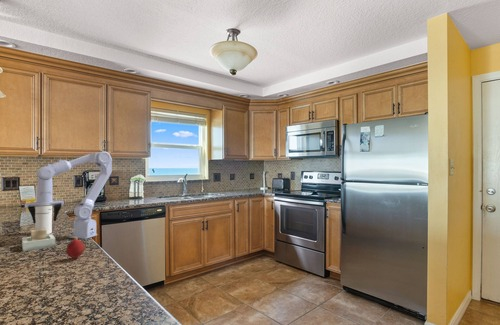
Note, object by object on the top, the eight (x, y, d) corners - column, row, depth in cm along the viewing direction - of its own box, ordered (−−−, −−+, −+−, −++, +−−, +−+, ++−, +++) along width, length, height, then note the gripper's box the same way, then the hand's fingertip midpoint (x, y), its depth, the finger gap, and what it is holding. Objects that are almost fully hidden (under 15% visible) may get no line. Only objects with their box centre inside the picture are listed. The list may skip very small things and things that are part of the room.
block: (45, 241, 126) (45, 228, 126) (46, 243, 122) (46, 230, 122) (31, 243, 123) (31, 229, 123) (31, 245, 119) (32, 231, 119)
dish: (52, 241, 130) (52, 234, 130) (55, 246, 122) (55, 238, 122) (21, 245, 123) (22, 237, 123) (22, 251, 114) (23, 242, 114)
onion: (75, 262, 101) (75, 239, 101) (62, 261, 102) (62, 239, 103) (87, 257, 107) (88, 236, 107) (75, 256, 108) (75, 235, 108)
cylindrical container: (55, 231, 150) (55, 185, 150) (44, 235, 143) (44, 186, 143) (42, 231, 151) (43, 185, 151) (31, 234, 143) (32, 186, 144)
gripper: (62, 191, 137) (61, 218, 137) (24, 192, 128) (24, 222, 127) (64, 191, 132) (64, 220, 132) (25, 194, 122) (25, 225, 122)
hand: (44, 221), depth 129 cm, fingers open, 7 cm apart
